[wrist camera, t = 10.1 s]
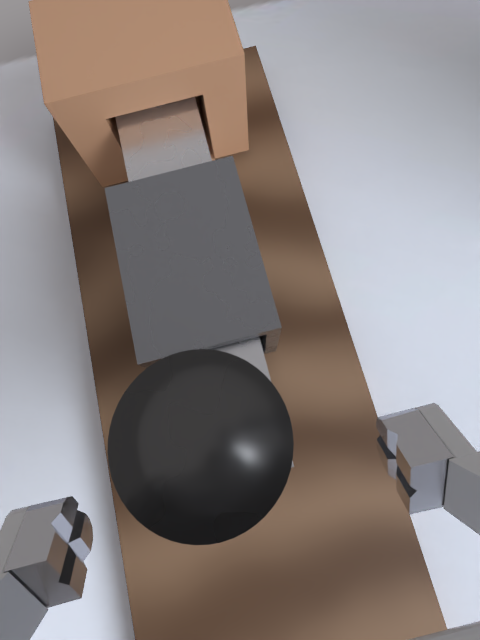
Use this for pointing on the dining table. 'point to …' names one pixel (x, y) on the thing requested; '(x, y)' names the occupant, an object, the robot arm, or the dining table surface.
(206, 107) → the socket block
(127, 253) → the metal sleeve
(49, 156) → the dining table surface
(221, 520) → the grey piece
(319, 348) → the walnut board
